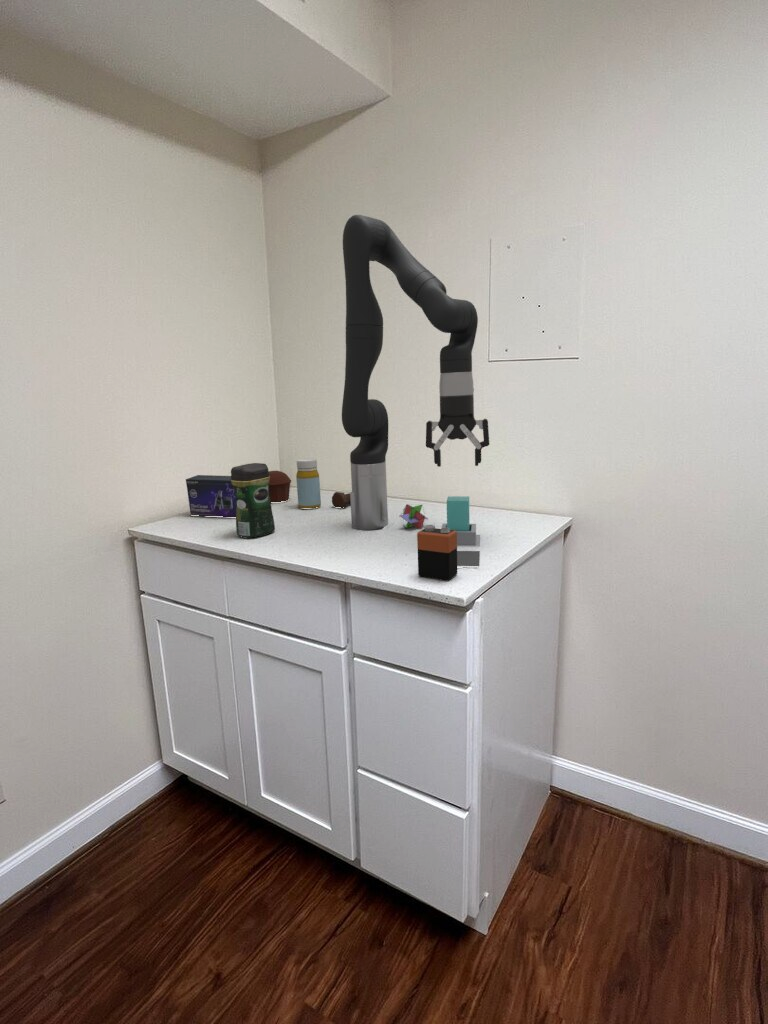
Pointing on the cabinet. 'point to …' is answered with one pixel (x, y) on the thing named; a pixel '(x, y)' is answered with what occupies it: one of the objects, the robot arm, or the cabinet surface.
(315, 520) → the cabinet surface
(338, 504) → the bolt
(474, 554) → the mat
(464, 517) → the teal block
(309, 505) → the bottle
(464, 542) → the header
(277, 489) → the muffin
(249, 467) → the coffee jar
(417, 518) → the geometric puzzle
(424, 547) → the battery
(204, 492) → the box
